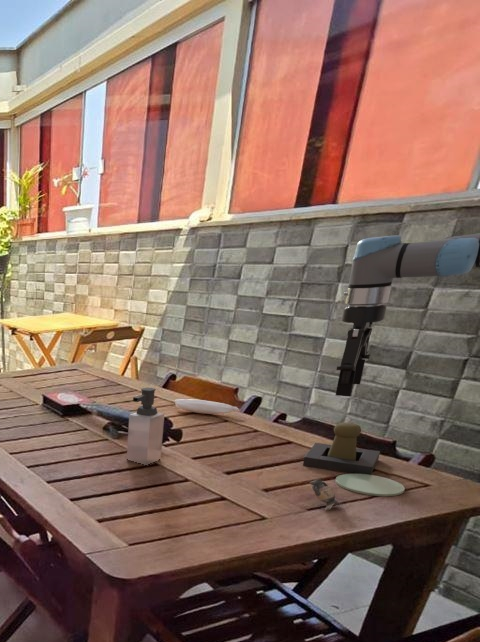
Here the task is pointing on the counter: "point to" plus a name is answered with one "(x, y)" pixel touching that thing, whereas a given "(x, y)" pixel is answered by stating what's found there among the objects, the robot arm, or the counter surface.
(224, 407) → the white tapered cylinder
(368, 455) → the frame
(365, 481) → the coaster
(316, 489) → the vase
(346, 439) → the cork
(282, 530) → the counter surface
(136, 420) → the soap dispenser
